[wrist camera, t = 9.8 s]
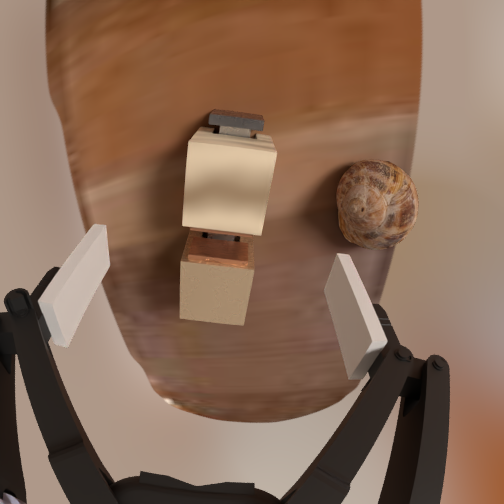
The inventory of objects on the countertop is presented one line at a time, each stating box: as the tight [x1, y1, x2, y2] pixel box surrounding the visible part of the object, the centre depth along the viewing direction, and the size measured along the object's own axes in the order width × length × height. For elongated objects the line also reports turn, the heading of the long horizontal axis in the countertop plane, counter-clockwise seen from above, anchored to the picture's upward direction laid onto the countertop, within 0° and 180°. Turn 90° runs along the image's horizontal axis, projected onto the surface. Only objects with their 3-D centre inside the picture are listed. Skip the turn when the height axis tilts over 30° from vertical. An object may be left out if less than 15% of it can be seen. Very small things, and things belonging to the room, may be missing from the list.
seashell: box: [336, 159, 419, 250], centre depth 33 cm, size 10×9×10 cm
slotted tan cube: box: [182, 127, 277, 238], centre depth 30 cm, size 9×7×8 cm
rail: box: [180, 109, 264, 326], centre depth 33 cm, size 23×7×8 cm, turn 171°
